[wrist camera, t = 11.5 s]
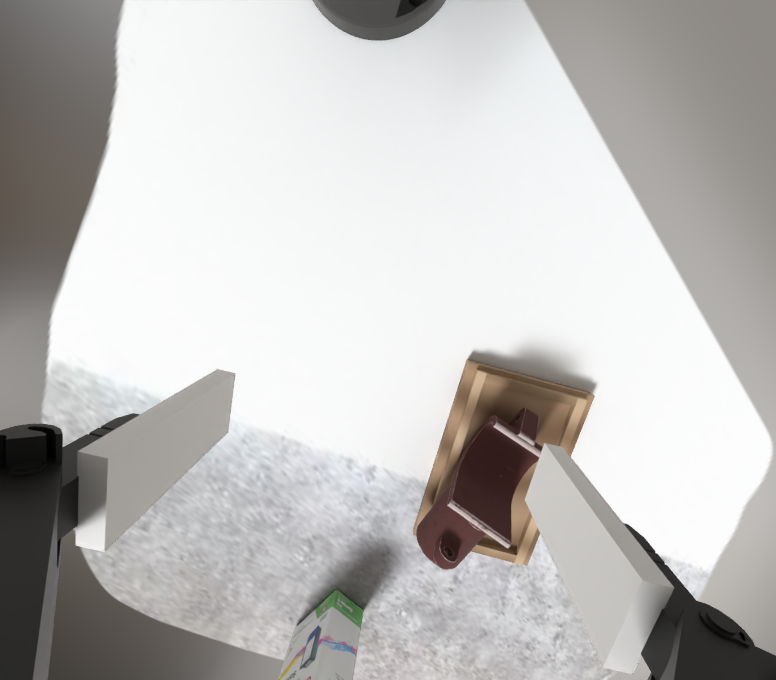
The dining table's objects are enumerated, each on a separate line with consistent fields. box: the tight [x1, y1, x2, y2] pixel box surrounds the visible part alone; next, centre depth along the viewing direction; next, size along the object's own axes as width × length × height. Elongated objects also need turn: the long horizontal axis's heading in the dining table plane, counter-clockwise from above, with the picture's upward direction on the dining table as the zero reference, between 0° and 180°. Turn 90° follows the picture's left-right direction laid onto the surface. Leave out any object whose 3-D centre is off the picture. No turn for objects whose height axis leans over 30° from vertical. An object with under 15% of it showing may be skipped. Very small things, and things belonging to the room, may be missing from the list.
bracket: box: [416, 407, 543, 570], centre depth 37 cm, size 6×17×10 cm, turn 148°
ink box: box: [278, 590, 364, 680], centre depth 43 cm, size 9×5×12 cm, turn 138°
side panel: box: [413, 360, 594, 565], centre depth 42 cm, size 22×14×2 cm, turn 165°
